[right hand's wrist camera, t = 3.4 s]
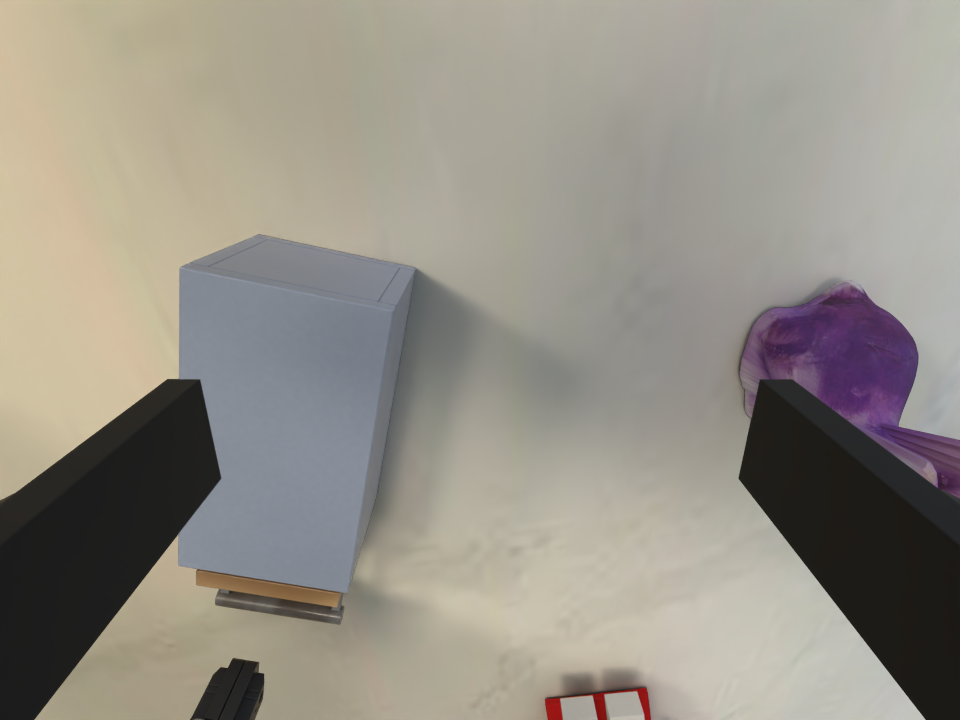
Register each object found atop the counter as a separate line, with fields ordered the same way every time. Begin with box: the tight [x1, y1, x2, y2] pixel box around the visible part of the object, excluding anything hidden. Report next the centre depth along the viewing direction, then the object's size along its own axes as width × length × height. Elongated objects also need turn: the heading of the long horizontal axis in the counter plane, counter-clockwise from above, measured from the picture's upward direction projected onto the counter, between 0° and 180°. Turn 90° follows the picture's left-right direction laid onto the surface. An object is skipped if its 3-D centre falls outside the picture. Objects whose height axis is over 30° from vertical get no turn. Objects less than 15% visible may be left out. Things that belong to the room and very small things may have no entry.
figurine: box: [739, 280, 960, 498], centre depth 29 cm, size 9×10×15 cm
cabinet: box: [178, 234, 416, 593], centre depth 32 cm, size 18×10×9 cm, turn 168°
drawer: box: [196, 569, 344, 625], centre depth 34 cm, size 22×9×8 cm, turn 168°
